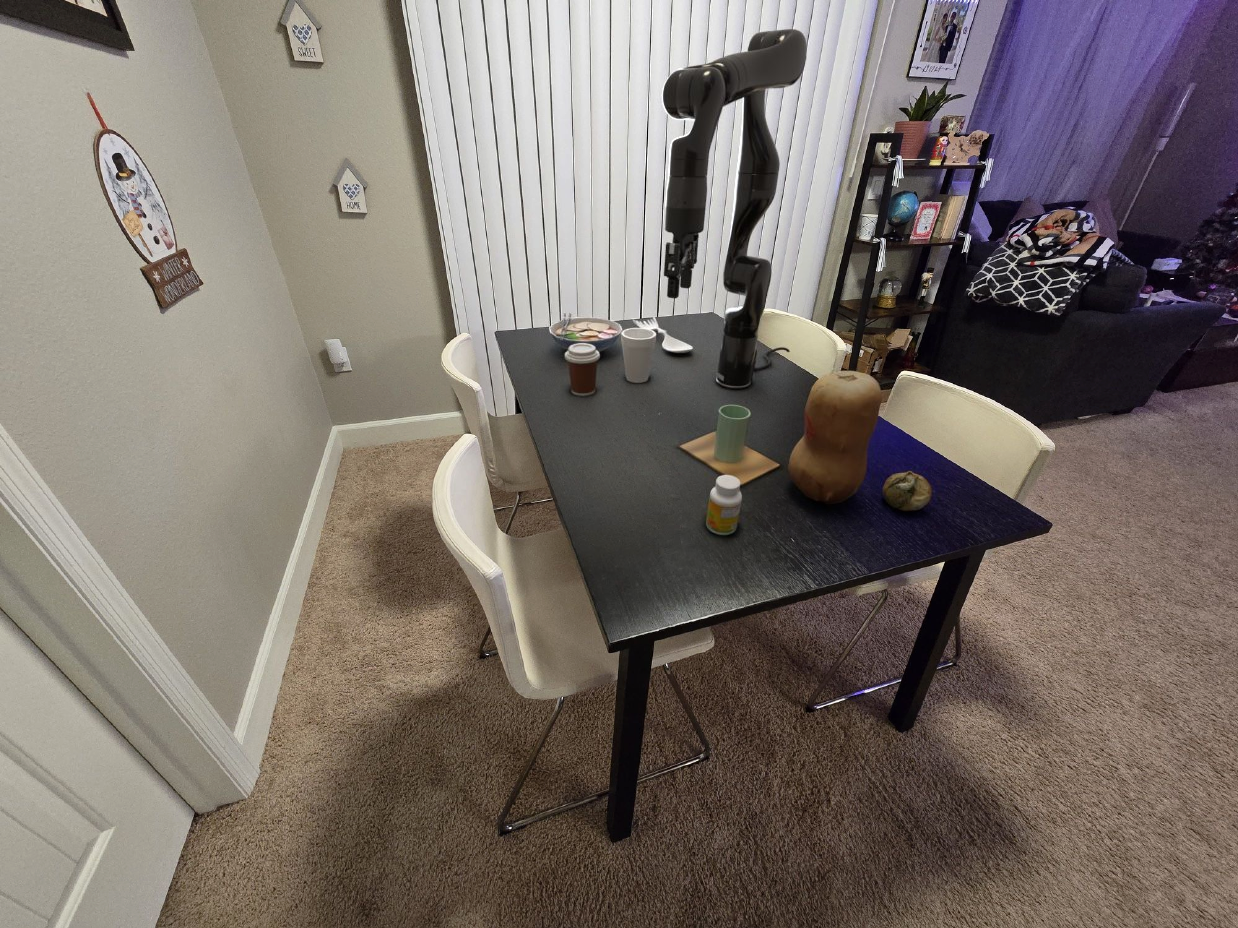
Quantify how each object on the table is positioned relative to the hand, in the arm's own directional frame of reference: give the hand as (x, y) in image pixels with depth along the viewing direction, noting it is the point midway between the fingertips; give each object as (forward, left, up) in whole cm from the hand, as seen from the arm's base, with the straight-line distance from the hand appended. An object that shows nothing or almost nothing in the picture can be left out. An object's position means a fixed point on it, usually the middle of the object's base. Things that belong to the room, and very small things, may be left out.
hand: (679, 292), depth 102 cm
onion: (-15, +49, -31) cm, 60 cm away
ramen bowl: (-11, -52, -31) cm, 62 cm away
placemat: (-1, +18, -31) cm, 36 cm away
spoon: (-37, -45, -31) cm, 66 cm away
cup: (-1, +18, -31) cm, 35 cm away
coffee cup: (+6, -28, -31) cm, 42 cm away
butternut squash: (-5, +38, -31) cm, 49 cm away
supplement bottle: (+17, +33, -31) cm, 48 cm away
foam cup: (-11, -26, -31) cm, 42 cm away
